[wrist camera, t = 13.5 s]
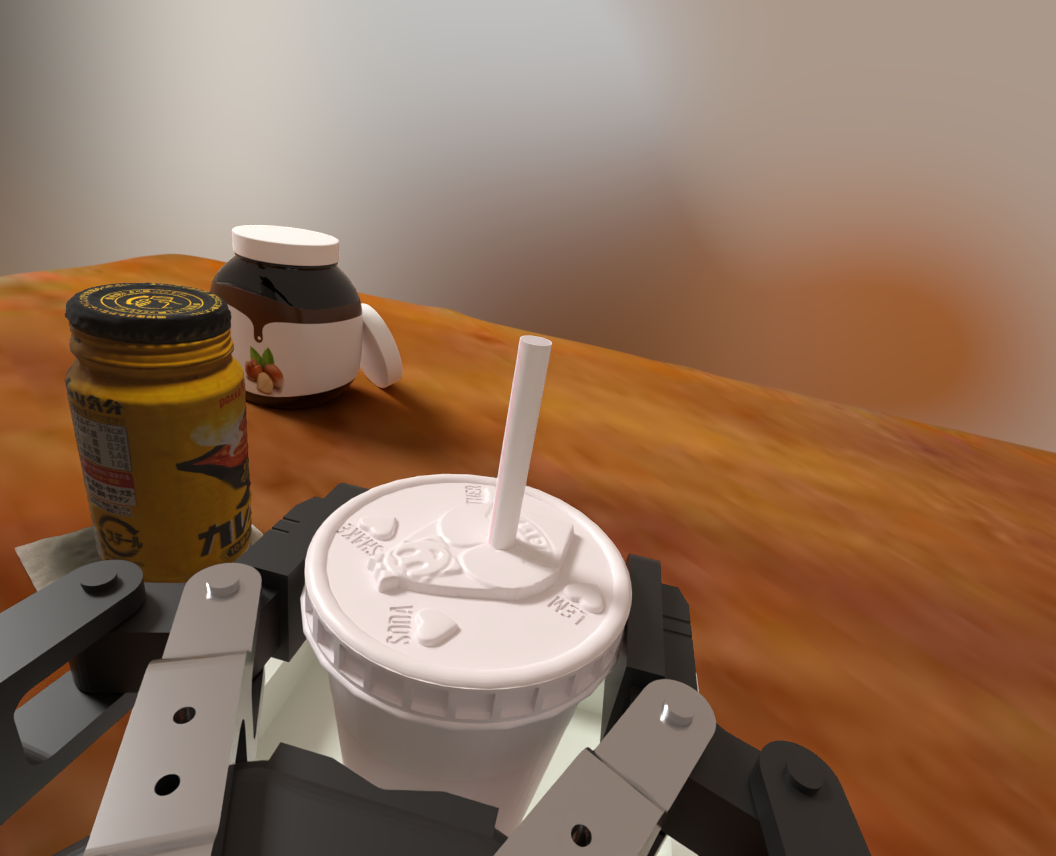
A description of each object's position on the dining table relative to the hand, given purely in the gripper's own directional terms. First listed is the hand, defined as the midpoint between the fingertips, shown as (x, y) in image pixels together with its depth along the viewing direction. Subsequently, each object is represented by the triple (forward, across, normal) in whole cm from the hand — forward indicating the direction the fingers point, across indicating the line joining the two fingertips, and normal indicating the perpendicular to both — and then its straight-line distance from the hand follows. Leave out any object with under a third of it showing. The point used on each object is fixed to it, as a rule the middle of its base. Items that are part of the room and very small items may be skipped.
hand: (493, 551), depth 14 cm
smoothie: (-2, 0, -8) cm, 9 cm away
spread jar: (+28, -20, -10) cm, 36 cm away
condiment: (+7, -16, -10) cm, 20 cm away
